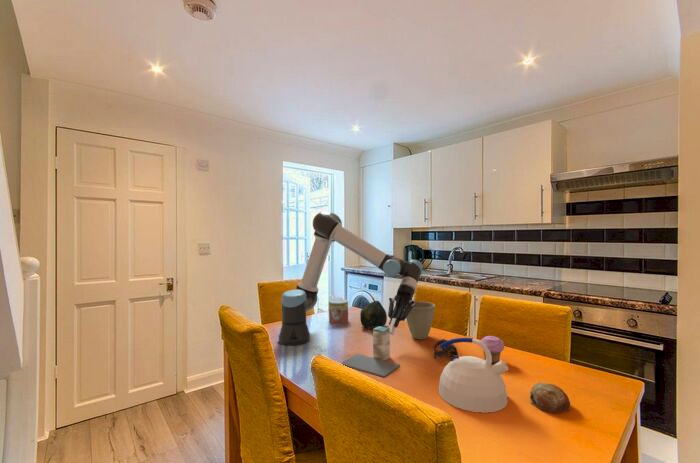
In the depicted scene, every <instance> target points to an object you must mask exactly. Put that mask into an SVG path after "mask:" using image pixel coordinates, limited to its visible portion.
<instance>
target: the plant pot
mask: <svg viewBox="0 0 700 463" xmlns="http://www.w3.org/2000/svg"><path fill="white" fill-rule="evenodd" d="M414 302H415V304H416V305H415V306H414V307H413V308H412V309H411V311H410V313H409V314H408V316H407V317H406V319H405V320H406V322H407V327H408V329H409V331H410V335H411V337H412V338H413V339H416V340H417V339H418V340H425V339H427V338H428V337H429V334H430V330H431V328H432V324H433V320H434V316H435V314H434V313H435V307H436V305H435V303H432V302H428V301H414ZM407 306H408V305H407ZM407 306H406V307H407Z"/></svg>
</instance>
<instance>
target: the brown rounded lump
mask: <svg viewBox="0 0 700 463" xmlns="http://www.w3.org/2000/svg"><path fill="white" fill-rule="evenodd" d="M529 397H530V403H531V404H532V405H533V406H535V407H536V408H538V409H540V410H541V411H544V412H546V413H549V414H563V413H567V412H568V411H569V410H570V408H571V407H570V405H571V402H570V398H569V397H568V394H567V393H566V392H565V391H564V390H563V389H562V388H561V387H560V386H558V385H555V384H552V383H548V382H537V383H535V384H534V385H533V386H532V387H531V389H530V395H529Z"/></svg>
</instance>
